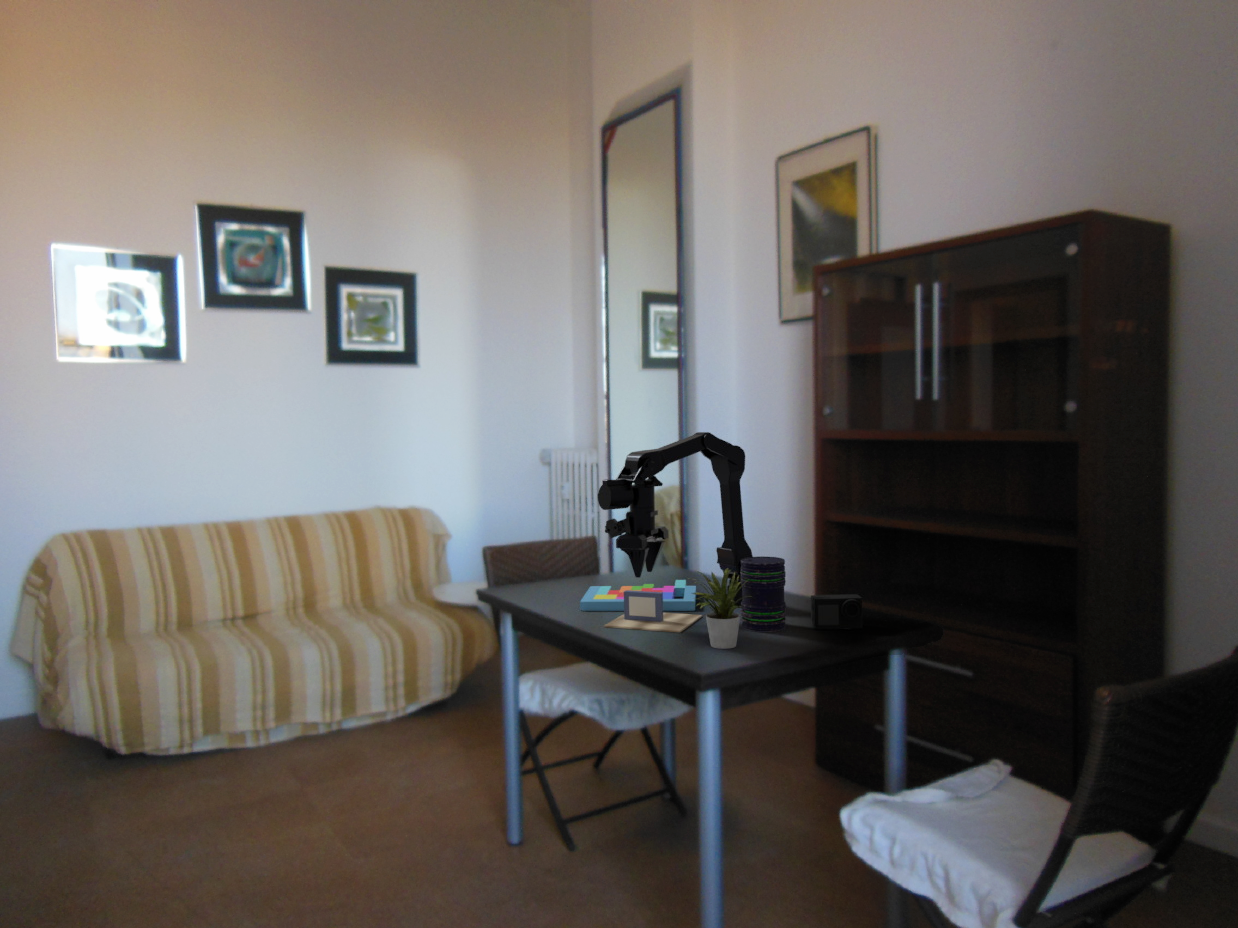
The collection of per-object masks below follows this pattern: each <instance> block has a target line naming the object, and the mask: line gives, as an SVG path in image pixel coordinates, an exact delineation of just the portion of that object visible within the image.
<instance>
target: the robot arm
mask: <svg viewBox="0 0 1238 928" xmlns="http://www.w3.org/2000/svg"><path fill="white" fill-rule="evenodd" d="M697 453H701V454H702V456H704V458H706V459H708V460H709V461H710V463H711V464H710V465H711V468H712V472H713V473H714V475H715V477H716V479H717V480H718V482H719V489H720V490H719V491H720V501H721V502H720V503H721V513H722V515H721V516H722V527H723V528H722V529H723V542H722V544H721V546H720V547H719V546H718V547H716V550H715V551H716V555H717V561H716V564H718V566H719V569H720V570H721V571H722V573H723V574H724V572H725V570H726V569H727V568H728V571H729V570H731V569H732V570H731V571H729V574H728V581H729V582H728V583H729V584H727V594H728V590H729V587H730V584H731V580H732V577H733V574H734V572H735V579H734V583H735V581H736V579H737V577H738V575H739V579H738V582H741V576H740V571H741V559H743V558H747V557H754V555H753V553H752V548H751V547H750V546H749V544H748V542H747V539H746V538H745V529H744V515H743V514H744V513H743V503H742V493H741V492H742V491H741V479H742V477H743V474H744V473H745V469H746V451H745V450H744V449H743V448H742V447H741V446H739V445H736V444H734V445H733V444H732V443H731V442H728V441H726V440H723V439H722V438H719V437H717V436H716V435H715V434H713V433H711V432H708V431H706V432H705V431H703V432H701V431H699V432H695V433H694V434H692V435H690V436H687V437H684V438H682V439H679V440H677V441H674V442H672V443H669V444H666V445H663V446H661V447H658V448H654V449H653V448H652V449H644V450H638V451H637V450H636V451H632V452H630V453H629V454H627V455H626V458H625V460H624V465H623V467H622V468H621V469H620V471H619V473H618V475H617V476H616V478H615V479H609V478H608V479H607V478H604V479H602V480H601V481H602V484H601V486H600V487H599V490H598V493H597V502H598V504H599V506H600V508H601V509H602V510H603V511H608V510H609V511H611V510H621V509H622V510H623V509H629V511H627V512H626V513H625V518H624V519H621V520H617V519H616V518H611V519H608V520H606V522H605V525H604V528H605V529H604V533H605V534H608V537H609V539H612V538H616V539H615V549H619V550H620V551H623V553H625V554H626V555H627V556H628V558H629V561H630V564H631V567H632V570H633V575H634V577H635V578H641V576H642V574H643V570H644V568H645V567H646V572H648V573H652V572H653V570H654V567H655V565H656V564H657V563H656V562H657V560H658V558H659V555H660V553H661V551H662V549H663V546H664V544H665V543H666V541H665V540H666V539H667V540H668V539H669V529H668V528H667V527H666V526H663V525H661V526H659V525H657V526H656V516H658V515H659V510H658V509H657V510H656V501H655V499H656V497H655V496H656V495H655V488H656V487H663V485H664V483H663V482H662V481H660V480H659V479H658V477H657V476H656V475H658V474H659V473H660V472H662V471H663V470H665V468H666V467H667V466H668V465H669V464H672V463H674V462H676V461H680V460H682V459H685V458H687V457H689V456H692V455H694V454H697ZM660 539H661V540H660ZM734 583H733V586H734ZM733 586H732V587H733ZM741 586H742V585H741V583H740V584H739V586H738V587H737V590H738V589H739V588H740V587H741ZM737 590H736V591H737ZM740 598H742V587H741V588H740V589H739V591H738V592H737V594H736V595H735V597H734V599H733V601H735V602H736V601H737V600H738V599H740ZM733 601H732V602H733ZM741 602H742V599H740V600H738V601H737V602H736V603H735V605H734V606H741ZM731 604H732V603H731Z"/></svg>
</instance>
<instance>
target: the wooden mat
mask: <svg viewBox="0 0 1238 928" xmlns="http://www.w3.org/2000/svg"><path fill="white" fill-rule="evenodd" d="M702 617H703V614H689V613H675V612H663V621H662V622H655V621H641V620H626V619H624V613H623V614H622V615H620V616H618V617H617V618H615V619H612V620H611V621H609V622H607V623H606V624H604V625H603V627H604V628H613V629H623V630H624V629H625V630H637V631H640V630H641V631H652V632H653V631H654V632H663V633H664V632H666V633H682V632H683V631H684V630H686V629H688V628H689V627H690V626H691V625H694V623H696V622H697V621H698V620H700V618H702Z"/></svg>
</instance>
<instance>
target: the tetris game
mask: <svg viewBox="0 0 1238 928" xmlns="http://www.w3.org/2000/svg"><path fill="white" fill-rule="evenodd" d="M626 590H631V591H649V592H663V612H664V611H665V612H674V611H675V612H676V611H678V612H679V611H682V612H683V611H686V612H687V611H689V612H691V611H693V612H694V611H696V607H695V606H696V602H697V601H696V600H697V595H695V594H692V593H697V592H696V591H697V586H696V585H687V580H686V579H675V582H674V585H663V587H655V583H643V584H642V585H622V586H621V587H620V589H615V590H613V589H612V585H603V586H600V585H593V586H592V585H591V586H589V588H588V590H586V592H585V594H584V595H583V597H582V598H581V600H580V602H579V604H580V605H579V608H580V609H579V611H580V612H606V611H607V612H615V611H616V612H624V591H626ZM676 597H683V598H676ZM692 598H696V599H692ZM581 610H582V611H581Z"/></svg>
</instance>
